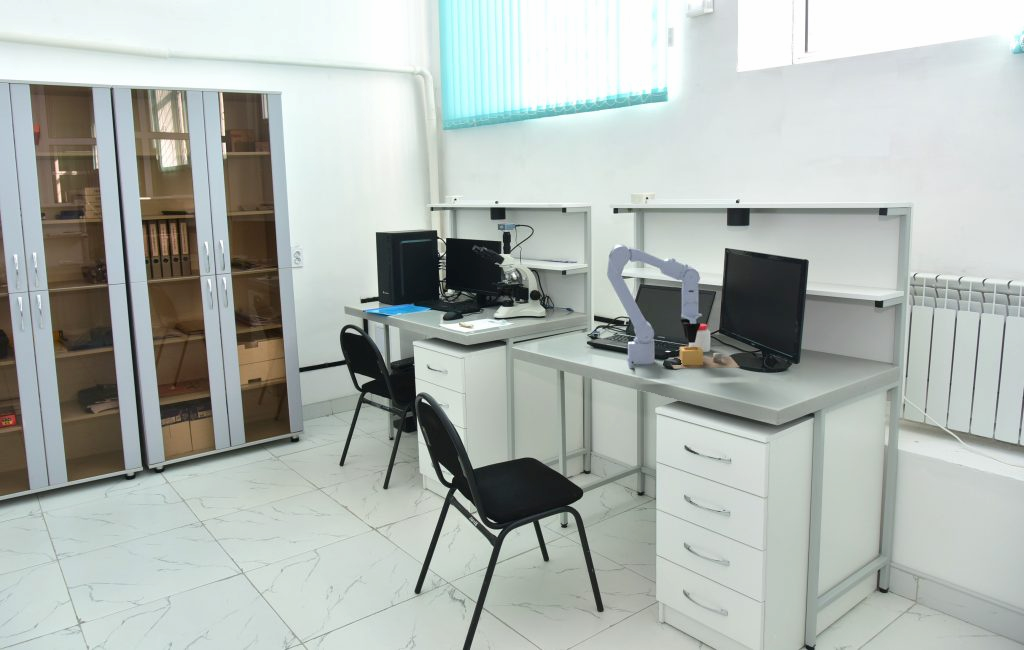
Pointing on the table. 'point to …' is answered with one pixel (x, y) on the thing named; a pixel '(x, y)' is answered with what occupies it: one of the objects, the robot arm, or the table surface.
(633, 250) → the robot arm
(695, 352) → the orange open box
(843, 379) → the table surface
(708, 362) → the keeper board
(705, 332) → the pill bottle
